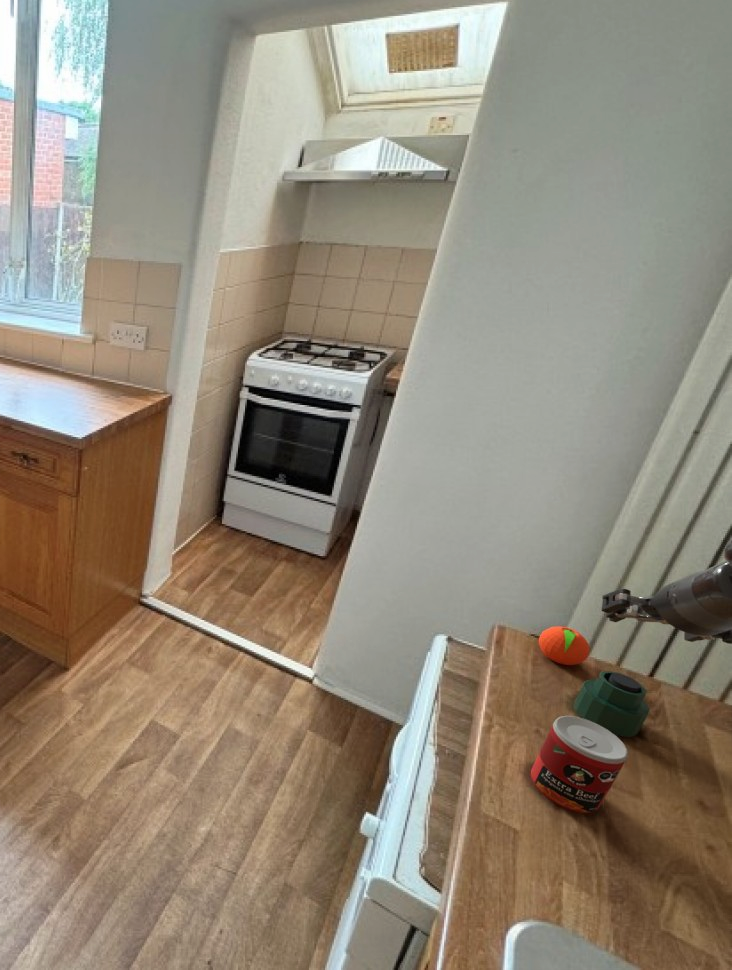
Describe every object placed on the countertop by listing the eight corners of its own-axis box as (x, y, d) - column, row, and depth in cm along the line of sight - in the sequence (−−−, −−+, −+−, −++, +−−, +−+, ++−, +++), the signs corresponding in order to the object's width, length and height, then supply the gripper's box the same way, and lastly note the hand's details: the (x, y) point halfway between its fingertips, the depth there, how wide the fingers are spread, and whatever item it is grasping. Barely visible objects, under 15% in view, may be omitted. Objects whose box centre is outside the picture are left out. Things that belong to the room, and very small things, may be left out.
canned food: (526, 792, 89) (552, 737, 84) (531, 759, 94) (556, 706, 90) (597, 828, 84) (629, 771, 79) (598, 791, 89) (628, 736, 85)
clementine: (581, 682, 109) (596, 651, 107) (531, 663, 114) (545, 633, 111) (581, 659, 115) (596, 629, 112) (534, 642, 119) (547, 613, 116)
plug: (622, 718, 101) (641, 681, 98) (618, 728, 99) (638, 691, 96) (594, 706, 103) (612, 669, 100) (590, 715, 101) (609, 679, 98)
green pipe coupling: (639, 722, 101) (659, 685, 98) (633, 746, 96) (654, 709, 93) (577, 694, 106) (594, 659, 103) (568, 716, 102) (586, 679, 99)
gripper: (787, 593, 80) (714, 618, 93) (638, 561, 87) (590, 588, 100) (788, 648, 77) (713, 665, 91) (635, 610, 85) (586, 631, 98)
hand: (648, 625), depth 95 cm, fingers open, 8 cm apart
